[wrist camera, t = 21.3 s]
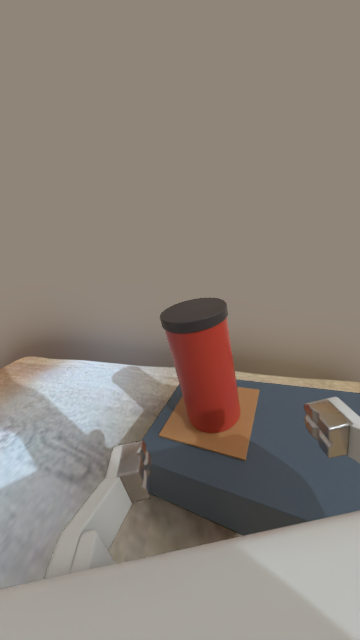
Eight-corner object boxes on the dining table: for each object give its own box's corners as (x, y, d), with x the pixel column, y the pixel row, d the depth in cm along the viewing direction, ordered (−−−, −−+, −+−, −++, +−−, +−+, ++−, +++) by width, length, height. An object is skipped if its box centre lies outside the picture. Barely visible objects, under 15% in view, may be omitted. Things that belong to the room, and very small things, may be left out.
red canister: (177, 427, 21) (146, 323, 17) (198, 389, 25) (177, 299, 21) (234, 441, 18) (214, 322, 14) (247, 396, 22) (233, 295, 19)
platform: (145, 492, 21) (130, 454, 19) (193, 402, 31) (185, 372, 29) (549, 672, 10) (602, 625, 8) (424, 444, 20) (435, 399, 18)
